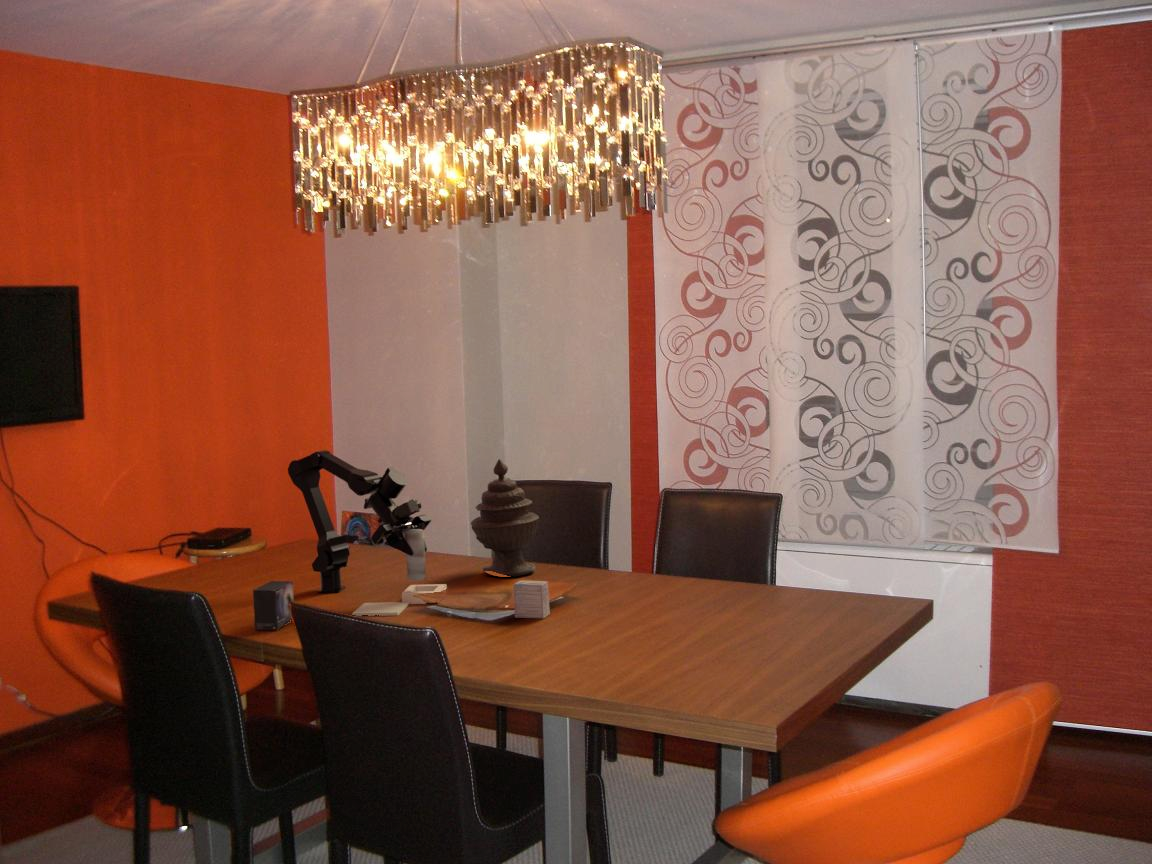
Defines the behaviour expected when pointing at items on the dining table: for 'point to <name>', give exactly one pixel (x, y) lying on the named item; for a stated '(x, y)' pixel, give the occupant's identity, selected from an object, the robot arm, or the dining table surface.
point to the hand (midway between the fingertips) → (419, 552)
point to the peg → (416, 555)
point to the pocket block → (420, 592)
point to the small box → (272, 605)
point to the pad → (381, 609)
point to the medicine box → (531, 599)
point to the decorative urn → (505, 524)
